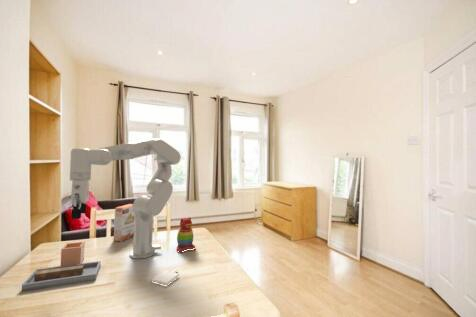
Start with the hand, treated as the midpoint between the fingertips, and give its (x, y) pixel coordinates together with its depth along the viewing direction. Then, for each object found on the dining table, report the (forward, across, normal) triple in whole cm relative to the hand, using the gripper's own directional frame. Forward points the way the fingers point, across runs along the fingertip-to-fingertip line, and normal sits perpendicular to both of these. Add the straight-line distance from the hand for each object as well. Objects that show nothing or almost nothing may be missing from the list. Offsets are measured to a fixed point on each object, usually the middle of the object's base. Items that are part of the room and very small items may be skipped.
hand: (79, 215), depth 97 cm
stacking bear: (+27, +15, -50) cm, 58 cm away
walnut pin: (+24, 0, +6) cm, 24 cm away
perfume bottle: (+27, -15, -36) cm, 48 cm away
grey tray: (+26, 0, +4) cm, 26 cm away
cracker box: (+26, +45, -17) cm, 55 cm away
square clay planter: (+26, +13, +4) cm, 30 cm away
